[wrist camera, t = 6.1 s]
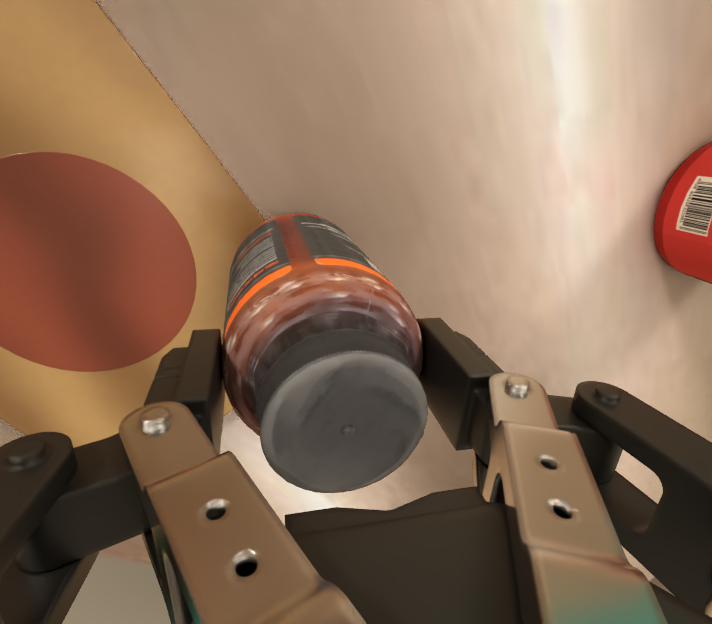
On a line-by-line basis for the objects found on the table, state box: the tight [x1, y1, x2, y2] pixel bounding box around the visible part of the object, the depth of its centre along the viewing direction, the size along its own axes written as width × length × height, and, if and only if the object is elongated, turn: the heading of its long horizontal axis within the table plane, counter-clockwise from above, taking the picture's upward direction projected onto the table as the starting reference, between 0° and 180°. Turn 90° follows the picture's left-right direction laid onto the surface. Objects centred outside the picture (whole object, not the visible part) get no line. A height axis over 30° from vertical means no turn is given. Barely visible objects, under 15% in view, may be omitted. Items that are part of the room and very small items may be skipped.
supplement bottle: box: [221, 213, 428, 493], centre depth 15 cm, size 6×6×11 cm
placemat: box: [0, 0, 265, 448], centre depth 18 cm, size 16×20×1 cm
